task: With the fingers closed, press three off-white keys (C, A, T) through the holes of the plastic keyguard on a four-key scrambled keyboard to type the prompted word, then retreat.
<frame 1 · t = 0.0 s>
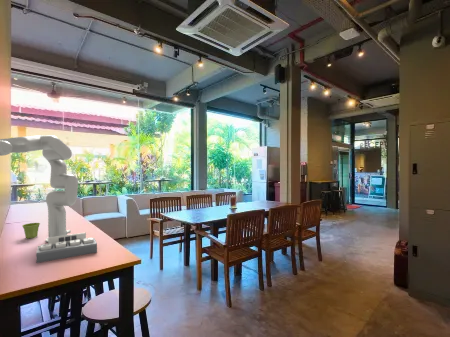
key C: (74, 243, 138), point 5 cm above the table, slide at 0.0 cm
key T: (88, 241, 141), point 5 cm above the table, slide at 0.0 cm
plant pot: (31, 237, 166), on the table
key S: (60, 245, 134), point 5 cm above the table, slide at 0.0 cm
keyboard: (68, 253, 136), on the table
key A: (46, 248, 131), point 5 cm above the table, slide at 0.0 cm
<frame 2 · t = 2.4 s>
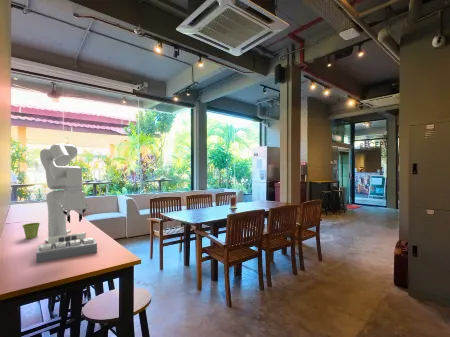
hand: (74, 221, 138), 17 cm above the table, tool pointing down, fingers open, 4 cm apart
nothing on the table moved.
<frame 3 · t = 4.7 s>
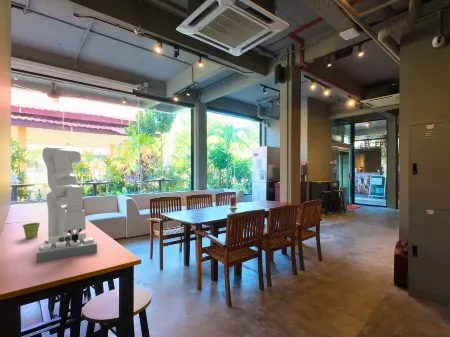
hand: (75, 241, 138), 6 cm above the table, tool pointing down, fingers closed
key C: (74, 244, 138), point 5 cm above the table, slide at 0.3 cm, touching gripper
everything else where it was.
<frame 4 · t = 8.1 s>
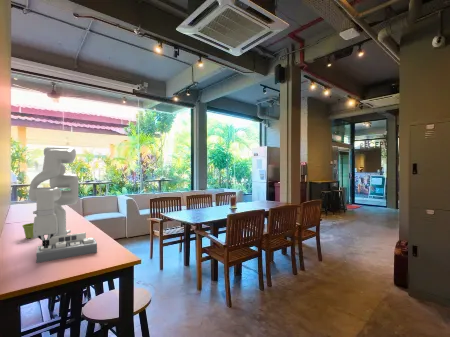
hand: (45, 247, 130), 6 cm above the table, tool pointing down, fingers closed
key C: (74, 245, 138), point 4 cm above the table, slide at 1.3 cm
key A: (46, 250, 131), point 4 cm above the table, slide at 1.1 cm, touching gripper
everything else where it was.
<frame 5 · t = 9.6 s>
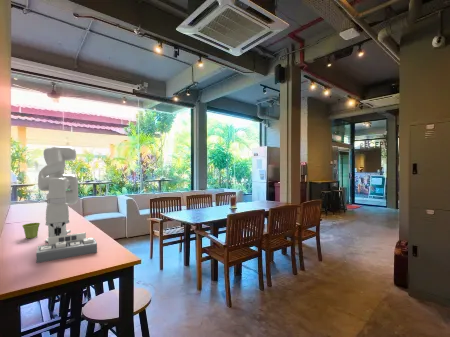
hand: (57, 235, 133), 11 cm above the table, tool pointing down, fingers closed
key A: (46, 250, 131), point 4 cm above the table, slide at 1.2 cm
everything else where it was.
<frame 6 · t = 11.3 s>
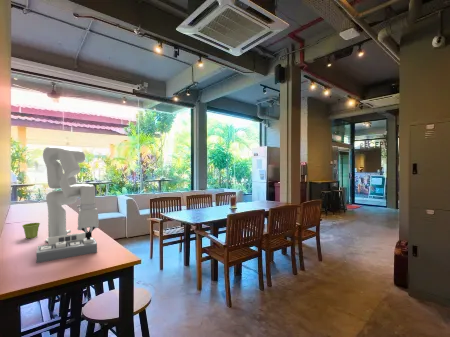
hand: (88, 238, 141), 7 cm above the table, tool pointing down, fingers closed
key T: (88, 241, 141), point 5 cm above the table, slide at 0.0 cm, touching gripper
everything else where it was.
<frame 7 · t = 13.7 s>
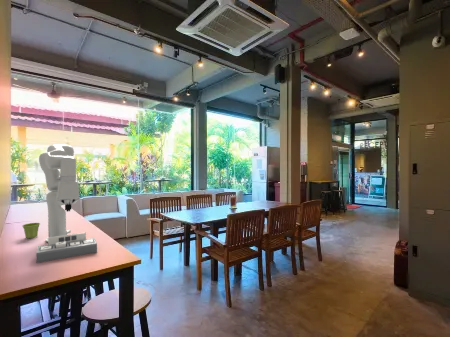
hand: (68, 211, 141), 23 cm above the table, tool pointing down, fingers closed
key T: (88, 243, 141), point 4 cm above the table, slide at 1.2 cm
everything else where it was.
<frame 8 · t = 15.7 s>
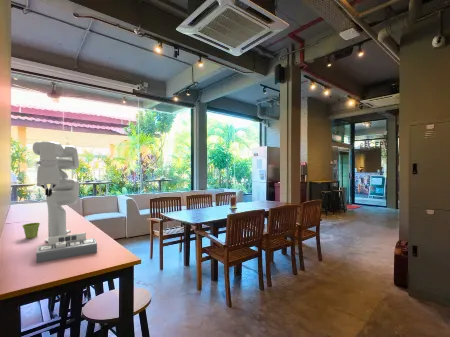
hand: (48, 196, 139), 31 cm above the table, tool pointing down, fingers closed
nothing on the table moved.
at the end: key C slide at 1.3 cm; key A slide at 1.2 cm; key T slide at 1.2 cm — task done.
